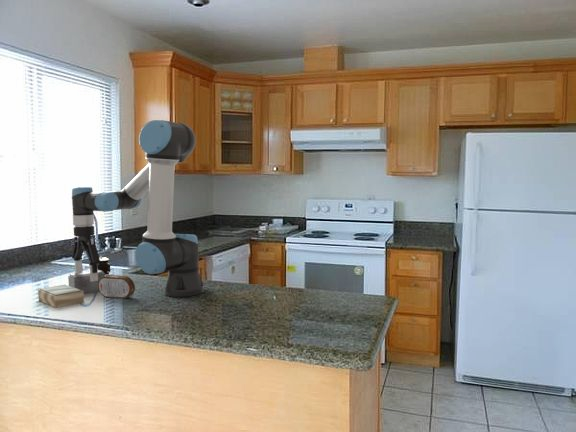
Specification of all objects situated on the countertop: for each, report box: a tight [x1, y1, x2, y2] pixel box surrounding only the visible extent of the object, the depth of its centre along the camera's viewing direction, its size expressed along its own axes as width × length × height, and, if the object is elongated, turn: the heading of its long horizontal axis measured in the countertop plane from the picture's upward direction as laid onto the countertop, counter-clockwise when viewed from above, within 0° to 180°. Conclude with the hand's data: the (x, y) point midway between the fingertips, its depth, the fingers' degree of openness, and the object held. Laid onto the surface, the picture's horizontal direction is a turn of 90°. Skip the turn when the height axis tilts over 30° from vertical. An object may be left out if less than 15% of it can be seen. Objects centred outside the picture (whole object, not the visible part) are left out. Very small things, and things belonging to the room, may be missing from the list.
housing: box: [67, 269, 105, 295], centre depth 192 cm, size 6×12×9 cm, turn 135°
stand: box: [37, 284, 85, 309], centre depth 178 cm, size 16×10×4 cm, turn 47°
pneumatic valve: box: [97, 255, 111, 276], centre depth 206 cm, size 6×12×12 cm, turn 27°
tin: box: [98, 274, 136, 299], centre depth 182 cm, size 15×3×8 cm, turn 72°
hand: (86, 278), depth 192 cm, fingers open, 13 cm apart
